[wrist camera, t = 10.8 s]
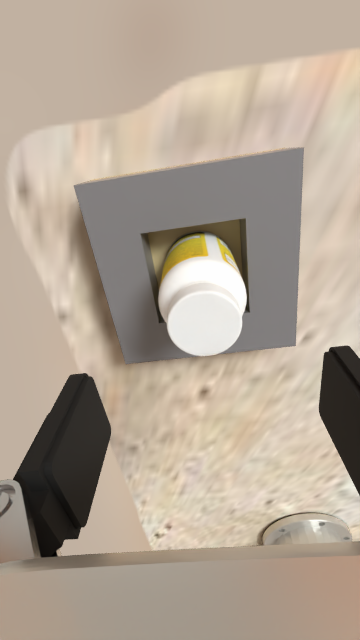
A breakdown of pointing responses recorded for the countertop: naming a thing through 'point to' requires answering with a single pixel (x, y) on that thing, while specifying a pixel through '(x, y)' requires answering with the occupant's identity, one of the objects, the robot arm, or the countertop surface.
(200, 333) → the supplement bottle
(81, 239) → the countertop surface
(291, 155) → the socket block
